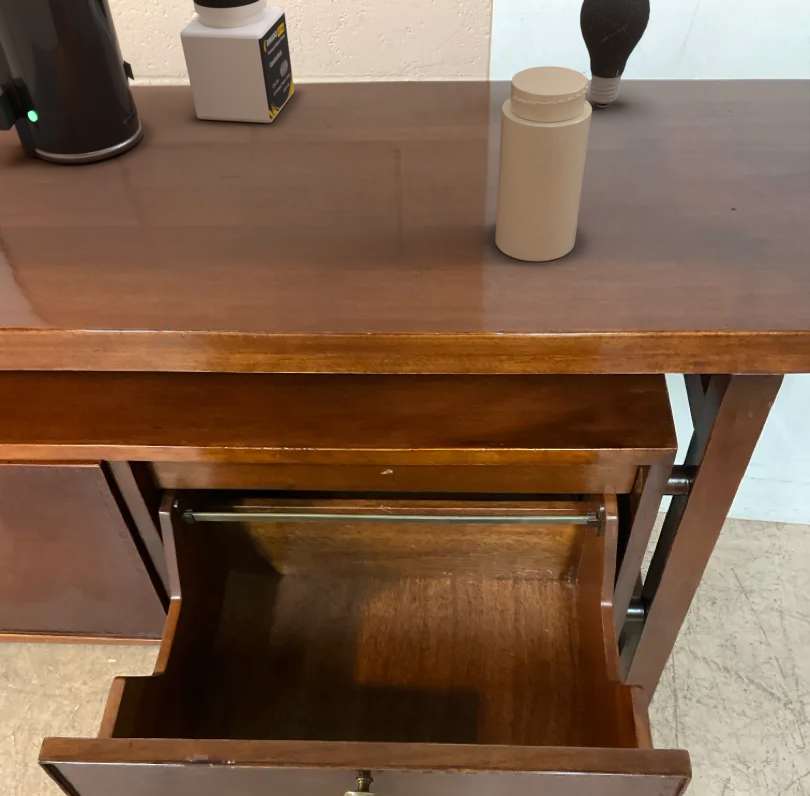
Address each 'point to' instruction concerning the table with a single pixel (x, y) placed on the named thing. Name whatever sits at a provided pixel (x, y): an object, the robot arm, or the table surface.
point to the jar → (542, 163)
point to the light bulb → (611, 41)
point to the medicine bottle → (238, 60)
